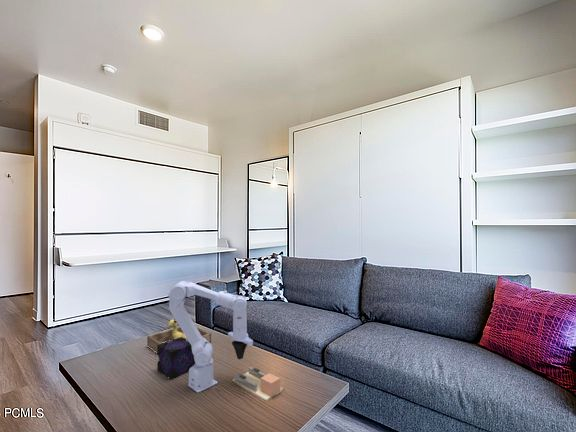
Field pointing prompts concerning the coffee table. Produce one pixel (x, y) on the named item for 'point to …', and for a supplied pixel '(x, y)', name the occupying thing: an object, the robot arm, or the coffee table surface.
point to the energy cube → (175, 357)
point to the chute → (253, 382)
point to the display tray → (170, 337)
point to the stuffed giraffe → (175, 330)
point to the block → (270, 384)
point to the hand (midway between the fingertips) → (240, 358)
